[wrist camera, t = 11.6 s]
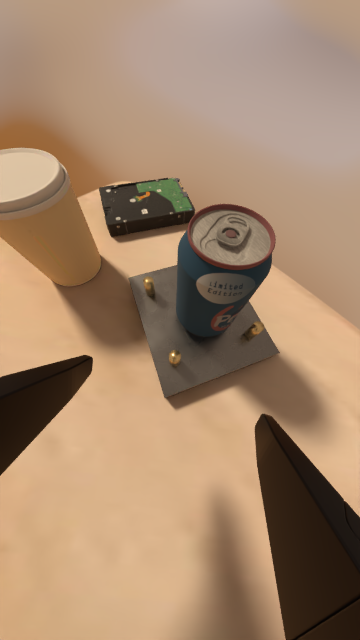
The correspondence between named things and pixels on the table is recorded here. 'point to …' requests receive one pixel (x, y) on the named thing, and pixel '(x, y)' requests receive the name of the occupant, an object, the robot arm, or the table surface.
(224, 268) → the soda can
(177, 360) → the chassis plate
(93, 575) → the table surface
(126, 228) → the disk drive
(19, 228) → the coffee cup
